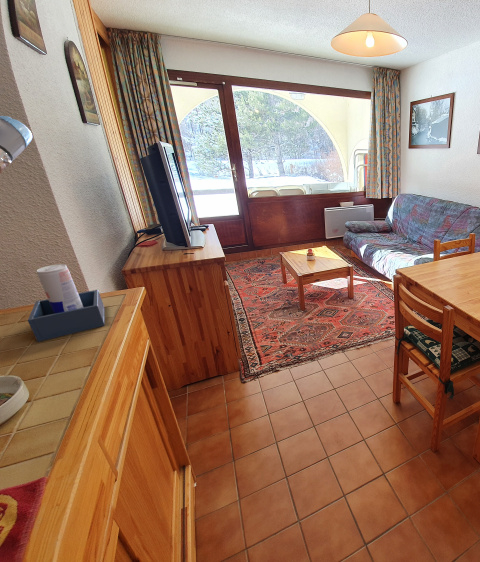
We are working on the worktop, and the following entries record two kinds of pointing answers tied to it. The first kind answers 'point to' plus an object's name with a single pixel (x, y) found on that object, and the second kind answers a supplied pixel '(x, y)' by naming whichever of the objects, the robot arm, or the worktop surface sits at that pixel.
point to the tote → (67, 317)
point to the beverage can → (59, 288)
